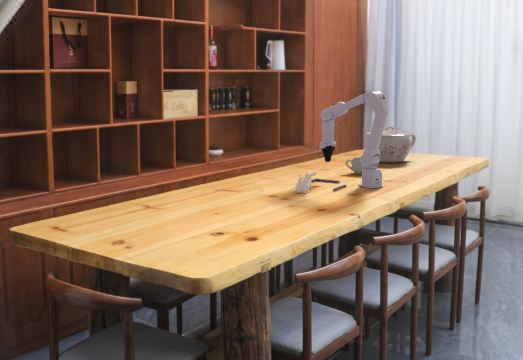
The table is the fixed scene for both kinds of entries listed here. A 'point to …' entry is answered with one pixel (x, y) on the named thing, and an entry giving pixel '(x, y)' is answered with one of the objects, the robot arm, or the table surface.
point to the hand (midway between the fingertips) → (327, 161)
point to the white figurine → (304, 183)
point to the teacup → (355, 165)
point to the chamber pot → (395, 145)
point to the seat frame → (330, 181)
